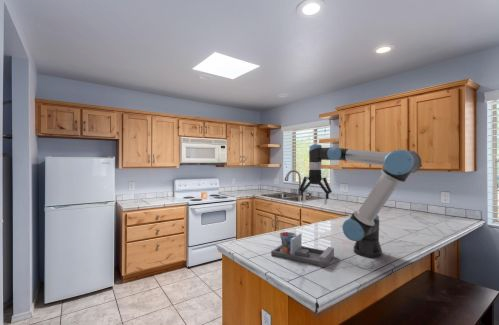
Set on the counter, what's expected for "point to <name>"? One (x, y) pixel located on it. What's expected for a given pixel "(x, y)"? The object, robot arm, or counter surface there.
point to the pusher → (298, 247)
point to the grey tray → (314, 257)
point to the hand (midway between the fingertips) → (314, 203)
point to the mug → (286, 241)
